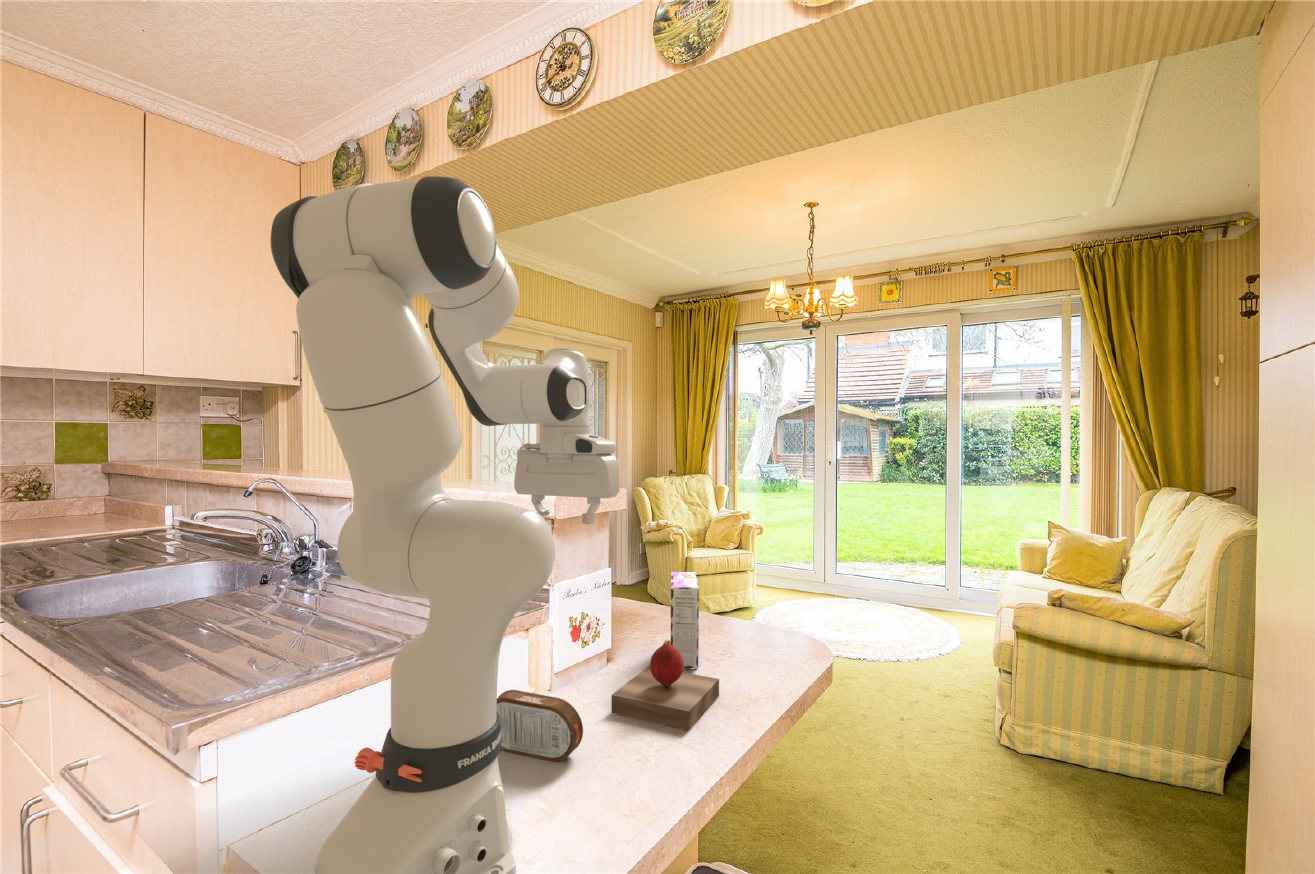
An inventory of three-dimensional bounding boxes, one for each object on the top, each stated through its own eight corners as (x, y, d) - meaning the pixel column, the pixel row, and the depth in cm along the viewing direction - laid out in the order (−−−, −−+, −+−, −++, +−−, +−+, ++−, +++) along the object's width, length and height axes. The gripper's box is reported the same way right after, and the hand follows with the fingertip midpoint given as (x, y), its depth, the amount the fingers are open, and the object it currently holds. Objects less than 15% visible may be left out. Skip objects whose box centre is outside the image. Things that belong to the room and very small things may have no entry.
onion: (680, 695, 99) (680, 647, 99) (647, 692, 100) (647, 644, 100) (685, 681, 105) (685, 635, 105) (653, 678, 106) (653, 633, 106)
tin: (584, 757, 85) (584, 699, 85) (573, 769, 82) (573, 708, 82) (495, 739, 90) (495, 684, 90) (482, 749, 87) (482, 692, 88)
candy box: (670, 645, 132) (670, 570, 132) (697, 645, 132) (697, 571, 132) (669, 669, 118) (669, 586, 118) (699, 669, 118) (699, 586, 118)
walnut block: (689, 730, 93) (689, 711, 93) (611, 712, 99) (611, 694, 99) (719, 695, 106) (719, 678, 106) (648, 681, 112) (648, 665, 112)
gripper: (506, 443, 106) (506, 520, 106) (605, 443, 97) (605, 528, 97) (528, 443, 112) (528, 516, 112) (624, 443, 103) (624, 523, 103)
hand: (565, 522), depth 104 cm, fingers open, 8 cm apart
